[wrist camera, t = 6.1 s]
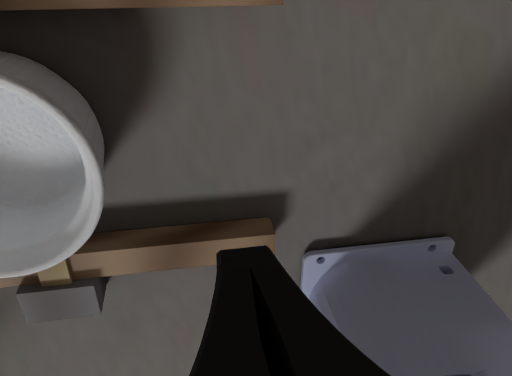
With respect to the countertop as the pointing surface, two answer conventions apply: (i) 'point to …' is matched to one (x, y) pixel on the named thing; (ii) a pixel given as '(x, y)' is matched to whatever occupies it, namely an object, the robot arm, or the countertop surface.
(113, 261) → the brown flat frame
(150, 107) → the countertop surface
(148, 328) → the countertop surface
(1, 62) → the ramekin
